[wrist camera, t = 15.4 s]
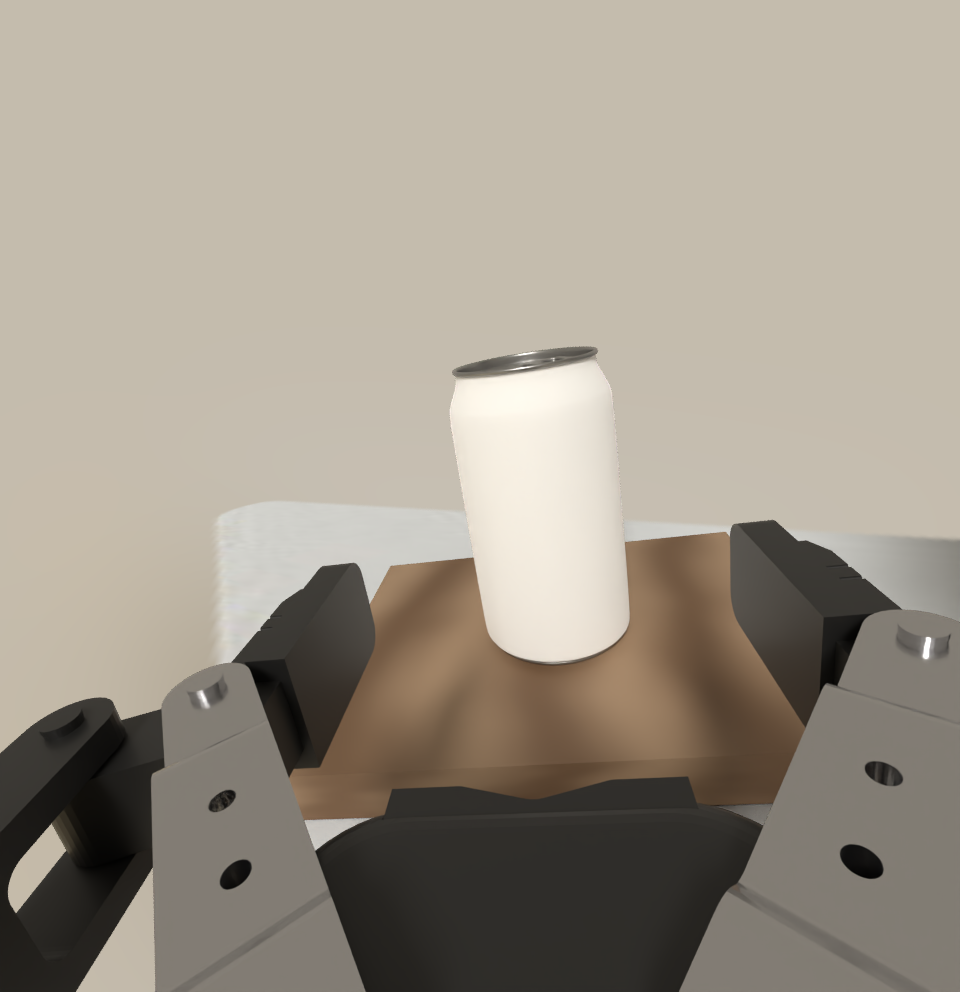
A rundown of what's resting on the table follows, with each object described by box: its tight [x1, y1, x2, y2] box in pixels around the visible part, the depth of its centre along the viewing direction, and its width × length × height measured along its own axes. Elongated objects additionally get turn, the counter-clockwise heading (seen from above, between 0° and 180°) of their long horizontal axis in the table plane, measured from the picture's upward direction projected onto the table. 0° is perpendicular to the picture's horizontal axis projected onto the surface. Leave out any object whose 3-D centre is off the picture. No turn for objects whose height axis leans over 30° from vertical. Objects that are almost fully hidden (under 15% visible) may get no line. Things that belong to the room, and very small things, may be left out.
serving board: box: [289, 532, 805, 820], centre depth 25 cm, size 20×16×2 cm
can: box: [449, 347, 630, 665], centre depth 23 cm, size 6×6×12 cm
